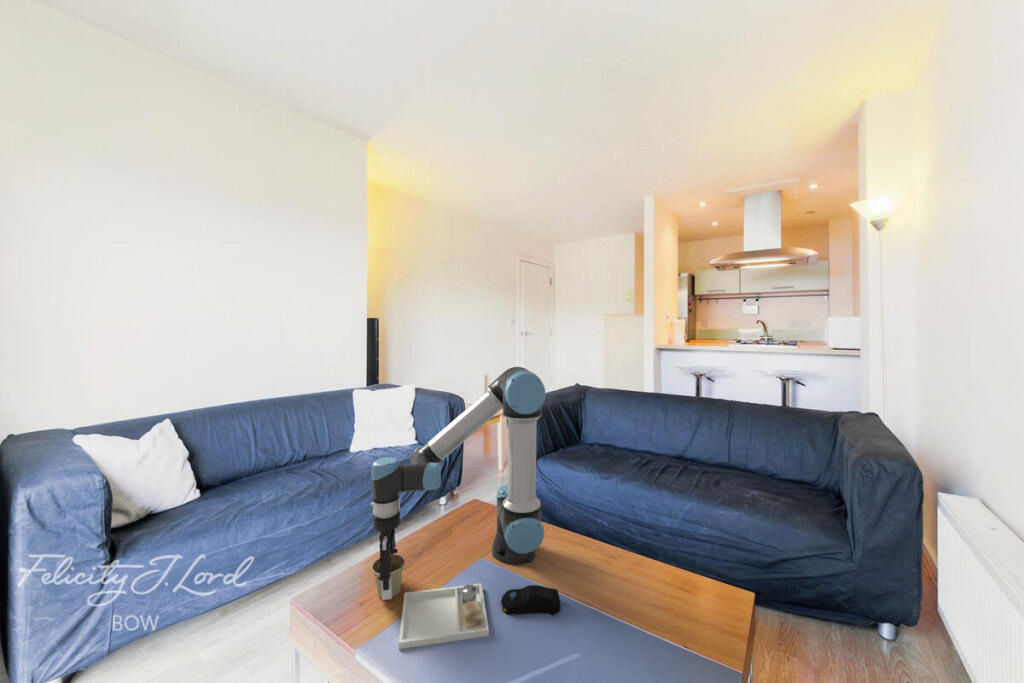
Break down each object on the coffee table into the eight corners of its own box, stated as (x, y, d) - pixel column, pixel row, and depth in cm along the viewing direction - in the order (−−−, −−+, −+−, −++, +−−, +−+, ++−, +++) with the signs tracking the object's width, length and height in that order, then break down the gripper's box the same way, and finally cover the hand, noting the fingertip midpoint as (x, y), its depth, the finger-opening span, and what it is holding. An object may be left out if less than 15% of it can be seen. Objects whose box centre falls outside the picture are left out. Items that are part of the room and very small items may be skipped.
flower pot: (396, 605, 112) (395, 575, 112) (365, 601, 114) (364, 571, 114) (411, 583, 122) (410, 556, 121) (382, 579, 124) (381, 552, 123)
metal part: (475, 597, 115) (475, 583, 115) (477, 606, 111) (476, 592, 111) (461, 599, 114) (461, 585, 114) (462, 609, 110) (462, 595, 110)
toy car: (500, 599, 116) (500, 582, 115) (558, 597, 116) (558, 580, 116) (501, 618, 108) (501, 600, 108) (562, 616, 109) (562, 598, 109)
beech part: (475, 614, 109) (475, 600, 108) (481, 624, 105) (480, 609, 105) (461, 619, 107) (461, 604, 107) (466, 629, 103) (466, 614, 103)
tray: (481, 590, 119) (481, 583, 119) (488, 638, 101) (488, 629, 101) (404, 600, 115) (404, 592, 115) (398, 651, 97) (398, 642, 97)
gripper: (378, 497, 127) (381, 565, 128) (366, 534, 105) (369, 616, 106) (403, 494, 128) (405, 562, 129) (396, 531, 106) (398, 611, 108)
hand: (389, 586), depth 118 cm, fingers closed on flower pot, 9 cm apart
